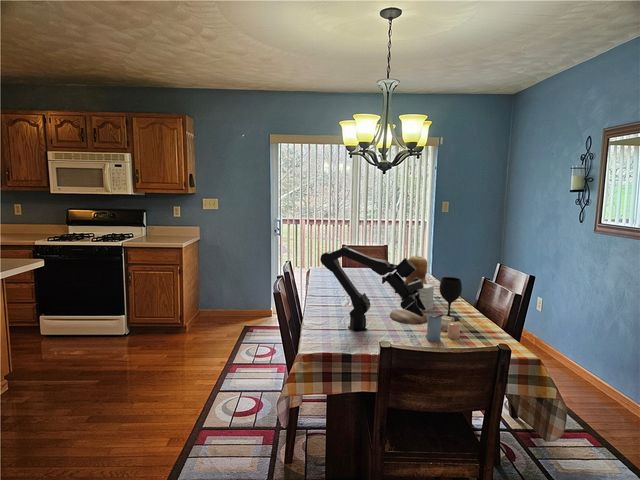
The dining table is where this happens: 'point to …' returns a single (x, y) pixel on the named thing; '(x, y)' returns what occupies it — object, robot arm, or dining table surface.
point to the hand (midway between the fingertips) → (423, 312)
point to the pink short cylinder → (453, 330)
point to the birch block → (446, 322)
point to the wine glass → (450, 292)
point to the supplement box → (427, 296)
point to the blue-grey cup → (434, 328)
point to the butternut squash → (418, 269)
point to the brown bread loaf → (407, 317)
